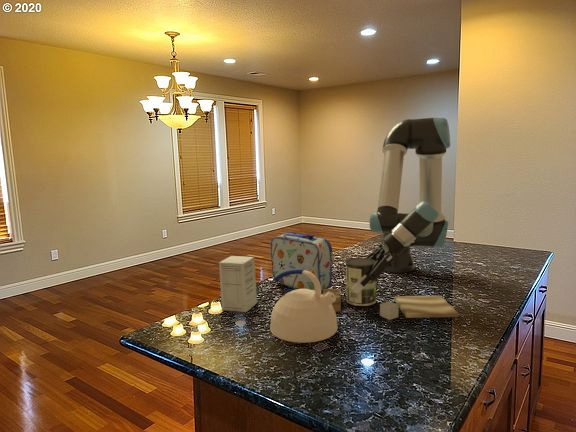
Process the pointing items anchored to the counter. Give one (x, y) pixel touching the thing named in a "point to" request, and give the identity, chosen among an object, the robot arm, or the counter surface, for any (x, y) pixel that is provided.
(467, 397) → the counter surface
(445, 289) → the counter surface
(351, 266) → the coffee can
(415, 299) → the maple board
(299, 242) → the lunch box
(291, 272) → the kettle
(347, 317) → the counter surface
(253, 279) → the supplement box
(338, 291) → the oak block
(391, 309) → the beige tilted cube
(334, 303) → the walnut block
